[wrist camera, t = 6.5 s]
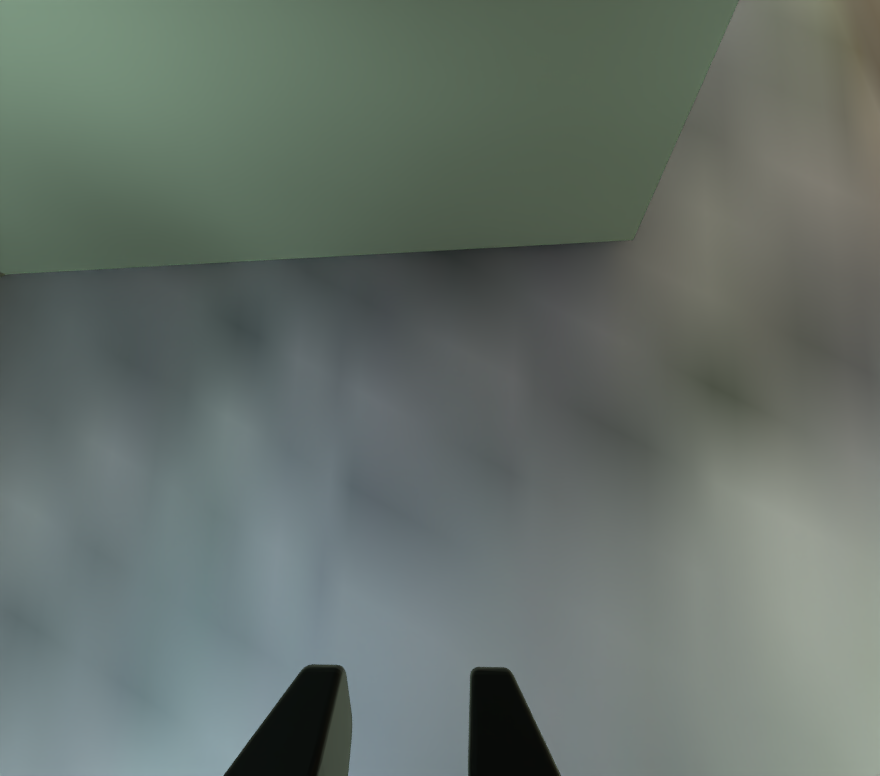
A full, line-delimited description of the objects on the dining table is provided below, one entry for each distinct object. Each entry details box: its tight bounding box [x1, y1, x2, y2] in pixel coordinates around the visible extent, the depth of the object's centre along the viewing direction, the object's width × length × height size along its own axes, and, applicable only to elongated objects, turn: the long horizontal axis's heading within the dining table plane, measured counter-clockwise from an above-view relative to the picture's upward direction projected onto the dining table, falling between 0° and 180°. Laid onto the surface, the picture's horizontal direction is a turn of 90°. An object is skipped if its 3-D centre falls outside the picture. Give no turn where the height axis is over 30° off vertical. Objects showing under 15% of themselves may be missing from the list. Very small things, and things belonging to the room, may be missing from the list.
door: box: [0, 0, 739, 277], centre depth 12 cm, size 13×2×9 cm, turn 92°
